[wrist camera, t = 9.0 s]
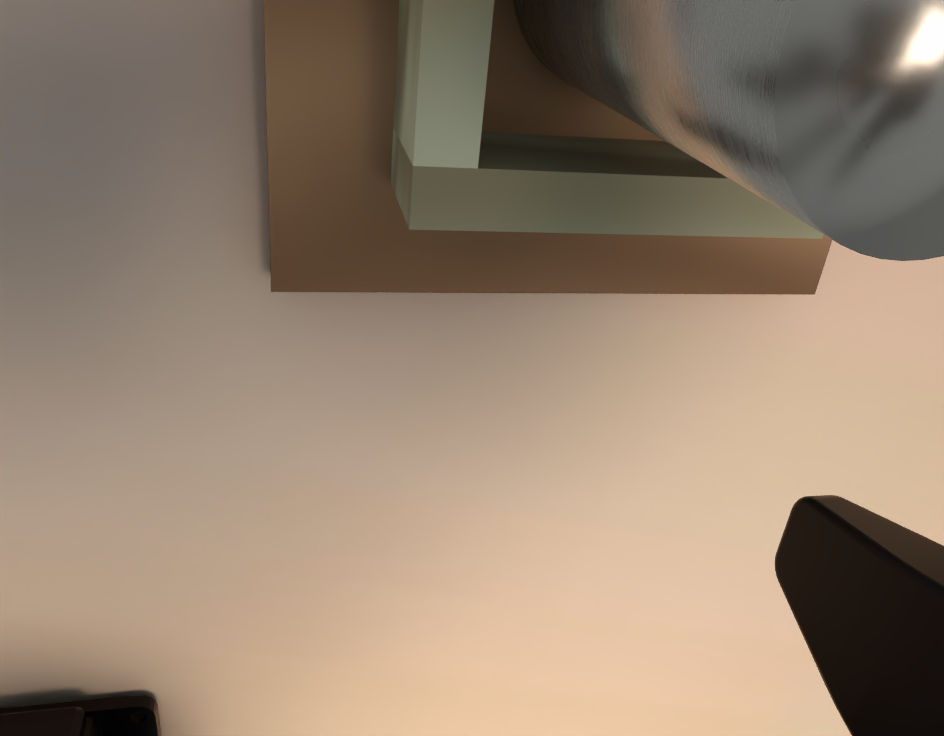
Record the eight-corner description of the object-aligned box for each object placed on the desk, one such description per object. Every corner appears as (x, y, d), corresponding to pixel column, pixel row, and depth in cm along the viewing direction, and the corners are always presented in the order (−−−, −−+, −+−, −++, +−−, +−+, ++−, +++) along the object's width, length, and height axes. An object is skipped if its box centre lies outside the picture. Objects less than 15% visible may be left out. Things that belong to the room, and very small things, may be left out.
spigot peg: (690, 97, 18) (1059, 263, 10) (500, 84, 17) (726, 258, 9) (740, -133, 16) (1266, -177, 8) (527, -163, 15) (860, -255, 7)
